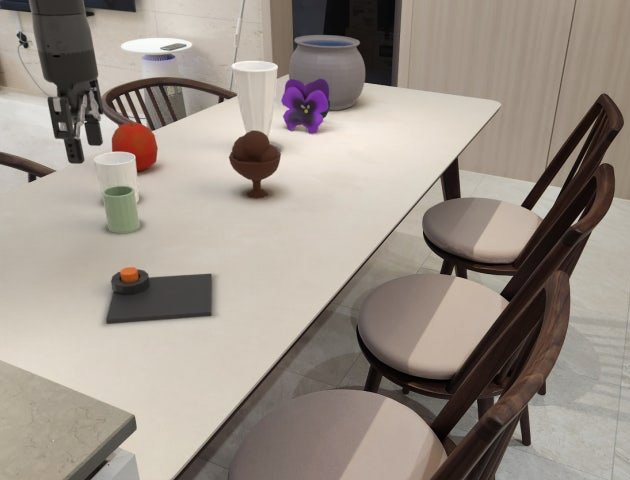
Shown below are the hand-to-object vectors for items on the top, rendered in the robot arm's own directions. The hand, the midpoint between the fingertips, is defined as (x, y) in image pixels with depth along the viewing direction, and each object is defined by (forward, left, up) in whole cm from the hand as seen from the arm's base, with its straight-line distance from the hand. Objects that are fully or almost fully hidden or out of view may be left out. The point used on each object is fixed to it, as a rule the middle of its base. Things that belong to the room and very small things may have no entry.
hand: (86, 153), depth 100 cm
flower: (+45, +80, -20) cm, 94 cm away
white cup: (-1, +27, -20) cm, 34 cm away
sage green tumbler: (+1, +14, -20) cm, 24 cm away
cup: (+29, +59, -20) cm, 69 cm away
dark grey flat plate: (+10, -14, -20) cm, 26 cm away
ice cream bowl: (+27, +28, -20) cm, 44 cm away
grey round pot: (+54, +106, -20) cm, 121 cm away
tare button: (+5, -11, -17) cm, 21 cm away
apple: (0, +48, -20) cm, 52 cm away
